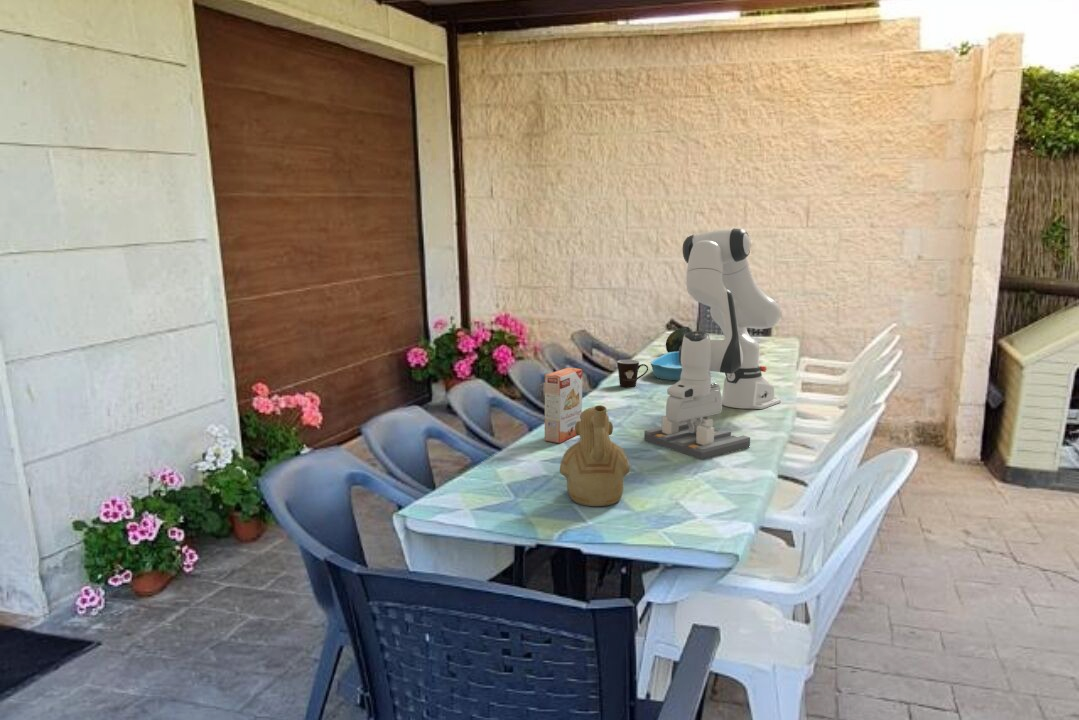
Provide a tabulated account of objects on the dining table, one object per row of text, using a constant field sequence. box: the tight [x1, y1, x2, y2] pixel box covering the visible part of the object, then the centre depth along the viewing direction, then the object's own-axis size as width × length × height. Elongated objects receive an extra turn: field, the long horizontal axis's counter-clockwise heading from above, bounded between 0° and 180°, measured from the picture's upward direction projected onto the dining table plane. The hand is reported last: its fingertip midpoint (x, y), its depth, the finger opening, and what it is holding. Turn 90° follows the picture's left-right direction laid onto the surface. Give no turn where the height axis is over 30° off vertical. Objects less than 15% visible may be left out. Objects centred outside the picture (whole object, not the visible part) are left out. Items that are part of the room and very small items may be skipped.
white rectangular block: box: [696, 416, 714, 434], centre depth 237 cm, size 3×4×6 cm
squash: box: [665, 326, 693, 353], centre depth 378 cm, size 14×15×15 cm
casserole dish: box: [650, 352, 682, 382], centre depth 336 cm, size 37×22×7 cm, turn 153°
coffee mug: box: [616, 359, 649, 389], centre depth 313 cm, size 12×9×10 cm
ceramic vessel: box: [559, 404, 631, 507], centre depth 190 cm, size 17×20×25 cm
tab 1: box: [661, 415, 680, 434], centre depth 239 cm, size 3×4×6 cm
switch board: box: [643, 420, 751, 461], centre depth 236 cm, size 20×24×3 cm
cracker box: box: [544, 367, 584, 444], centre depth 242 cm, size 14×6×21 cm, turn 148°
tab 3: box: [696, 424, 715, 445], centre depth 228 cm, size 3×4×6 cm
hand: (694, 432), depth 235 cm, fingers closed
